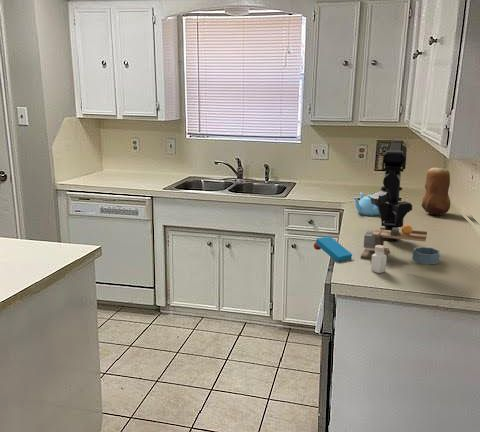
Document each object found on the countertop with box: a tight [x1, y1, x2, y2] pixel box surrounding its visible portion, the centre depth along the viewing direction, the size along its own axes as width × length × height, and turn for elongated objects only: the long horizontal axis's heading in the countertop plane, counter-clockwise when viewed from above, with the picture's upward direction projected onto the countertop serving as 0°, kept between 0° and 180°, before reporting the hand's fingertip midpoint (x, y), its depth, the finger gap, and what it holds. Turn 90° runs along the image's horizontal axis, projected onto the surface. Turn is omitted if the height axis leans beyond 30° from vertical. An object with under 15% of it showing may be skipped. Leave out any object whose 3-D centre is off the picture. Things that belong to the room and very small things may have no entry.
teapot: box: [353, 191, 380, 217], centre depth 259 cm, size 15×15×10 cm
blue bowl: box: [411, 246, 441, 265], centre depth 186 cm, size 10×10×4 cm
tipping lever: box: [363, 227, 428, 249], centre depth 189 cm, size 9×22×7 cm, turn 66°
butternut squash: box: [421, 167, 451, 216], centre depth 253 cm, size 14×13×25 cm
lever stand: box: [360, 226, 390, 261], centre depth 193 cm, size 14×9×10 cm, turn 156°
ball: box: [400, 224, 413, 235], centre depth 187 cm, size 4×4×4 cm
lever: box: [313, 236, 353, 262], centre depth 195 cm, size 7×7×18 cm
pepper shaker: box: [370, 245, 388, 274], centre depth 174 cm, size 4×4×10 cm
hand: (389, 223), depth 188 cm, fingers open, 9 cm apart
